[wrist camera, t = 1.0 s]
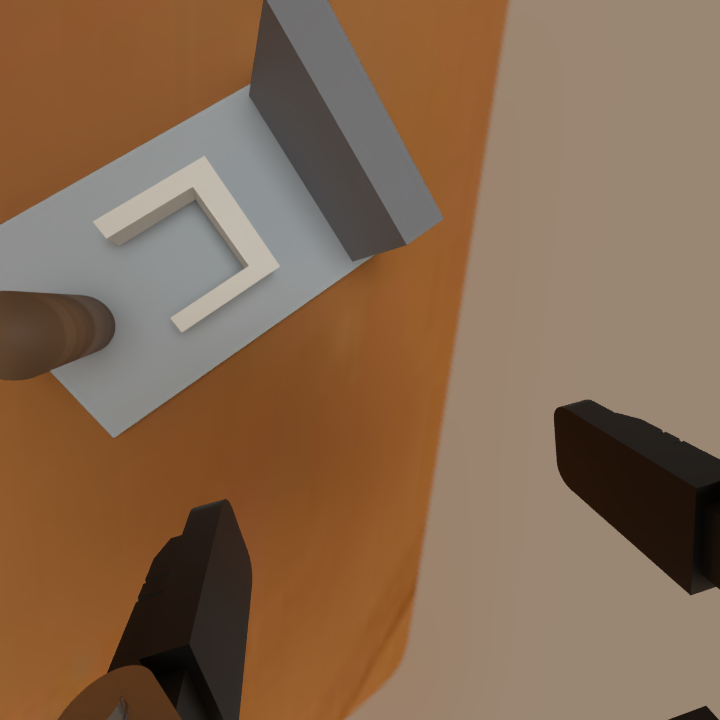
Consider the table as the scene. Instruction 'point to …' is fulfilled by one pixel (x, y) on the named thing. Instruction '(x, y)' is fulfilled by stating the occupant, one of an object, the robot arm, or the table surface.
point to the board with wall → (255, 198)
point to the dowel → (49, 331)
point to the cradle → (222, 212)
